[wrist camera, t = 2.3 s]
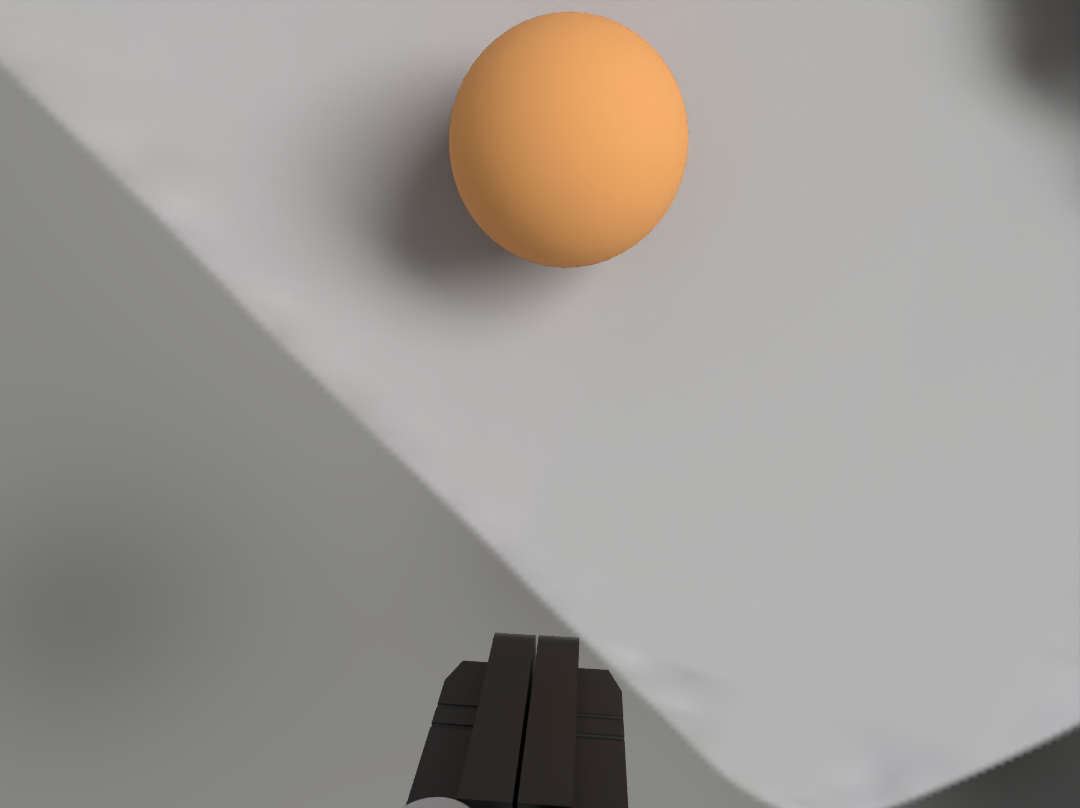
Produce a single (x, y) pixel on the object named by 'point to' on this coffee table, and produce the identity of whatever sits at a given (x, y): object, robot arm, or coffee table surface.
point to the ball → (568, 139)
